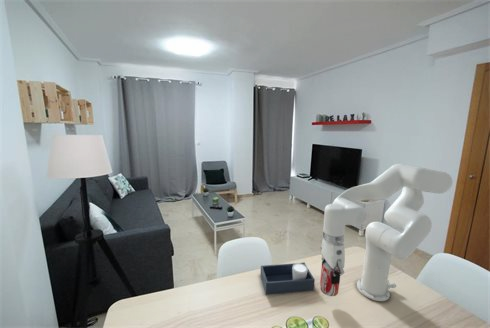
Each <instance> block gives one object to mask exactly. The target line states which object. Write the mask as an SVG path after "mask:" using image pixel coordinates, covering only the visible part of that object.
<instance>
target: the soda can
mask: <svg viewBox="0 0 490 328" xmlns="http://www.w3.org/2000/svg"><path fill="white" fill-rule="evenodd" d="M336 266H337V265H336ZM335 272H338V269H335ZM332 274H333V272H332V268H331V267H330V265H329V264H328V263H327V262H324V264H323V266H322V265H321V269H320V283H319V285H320V286H319V287H320V291H321V292H322V293H323V294H324V295H325V296H327V297H336V296H337V295H338V294H339V288H340V283H339V284H332V283H331V277H332Z"/></svg>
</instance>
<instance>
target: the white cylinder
mask: <svg viewBox="0 0 490 328" xmlns="http://www.w3.org/2000/svg"><path fill="white" fill-rule="evenodd" d="M300 263H301V262H296V264H294V265H293V266H292V271H293V280H299V279H306V276H307V271H308V269H309V268H308V266H307V265H306V264H305V265H306V266H307V267H306V266H305V265H303V264H300Z"/></svg>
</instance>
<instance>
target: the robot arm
mask: <svg viewBox="0 0 490 328" xmlns="http://www.w3.org/2000/svg"><path fill="white" fill-rule="evenodd" d="M452 186H453V178H452V176H451V175H450V174H449V173H447V172H446V171H442V170H437V169H431V168H426V167H421V166H415V165H412V164H411V165H410V164H406V163H395V164H393V165H390V167H388V168H387V169H386V170H385V171H384V172H382V173H381V174H380V175H378V176H377V177H376V178H375V179H373V180H372V181H370V182H368V183H363V184H359V185H357V186H352V187H350V188H348V189H346V190H344V191H343V192H342V193H341V194H339V195H337V197H336V198H334V200H333V202H332V203H328V204H327V205H325V206H324V213H323V227H322V228H323V229H322V241H321V246H320V251H321V267H322V266H323V264H324V262H327V263H328V264H329V265H330V267H331V268H332V272H333V274H332V277H331V283H332V284H339V285H340V281H341V276H343V275H344V274H345V270H344V268H345V262H346V261H345V259H346V254H345V253H346V251H345V244H344V241H345V232H346V231H345V230H346V229H345V228H346V226H361V225H364V224H365V223H367V222H368V220H369V217H370V215H369V211H368V210H367V209H366V208H365V207H363V206H361V205H359V204H358V202H362V201H387V200H389V199H390V198H391V197H393V196H394V195H395V194H396V193H397V192H398V191H400V190H401V189H402V190H401V193H400V195H398V197H397V198H396V200H394V201H393V202H392V204H391V205H390V206H389V207H388V208H387V209H386V211H385V212H384V215H383V217H384V220H385V221H386V223H387V224H386V223H383V222H380V221H371V222H370V223H368V224H367V226H366V228H365V231H364V232H365V233H364V234H365V235H364V236H365V250H364V251H365V252H364V258H363V267H362V272H361V278H359V279H358V280H357V281H356V288H357V290H358V291H359V292H360V293H361V294H362V295H363V296H364V297H366V298H368V299H370V300H372V301H376V302H386V301H388V300H389V299H390V295H391V294H390V291H389V290H390V289H394V288H395V289H396V288H397V284H396V283H395V282H390V280H389V275H390V274H389V273H390V269H391V262H392V257H394V258H396V259H398V260H405V259H407V258H409V257H410V256H411V255H412V254H413V253H414V251H415V250H416V249H417V248H418V247H419V246H420V245H421V243H423V241H424V240H425V239H426V238H427V237H428V235H429V234H430V232H431V229H432V220H431V218H430V217H429V216H428V215H426V214H424V213H423V212H420V209H421V208H422V207H423V205H424V203H425V198H424V195H423V192H425V193H430V194H439V195H440V194H444V193H447V192H448V191H449V190H450V189H451V188H452ZM388 224H389V225H388ZM390 225H391V226H390ZM395 228H396V229H395ZM397 229H398V230H397ZM399 230H400V231H399ZM336 265H337V266H336ZM335 269H338V272H335Z"/></svg>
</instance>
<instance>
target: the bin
mask: <svg viewBox="0 0 490 328" xmlns="http://www.w3.org/2000/svg"><path fill="white" fill-rule="evenodd" d="M296 263H297V262H296ZM296 263H295V262H294V263H280V264H268V265H267V264H266V265H265V264H264V265H260V280H261V283H262V287H263V290H264V294H265V295H266V296H267V295H278V294H279V295H280V294H289V293H301V292H302V293H303V292H312V291H313V292H314V291H315V278H314V276H313V275H312V272H311V271H310V270H309V268H308V266H307V264H306V263H305V262H299V263H300V264H303V265H305V266H306V267H307V268H308V271H307V276H306V279H299V280H293V271H292V266H293V265H294V264H296Z"/></svg>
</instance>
